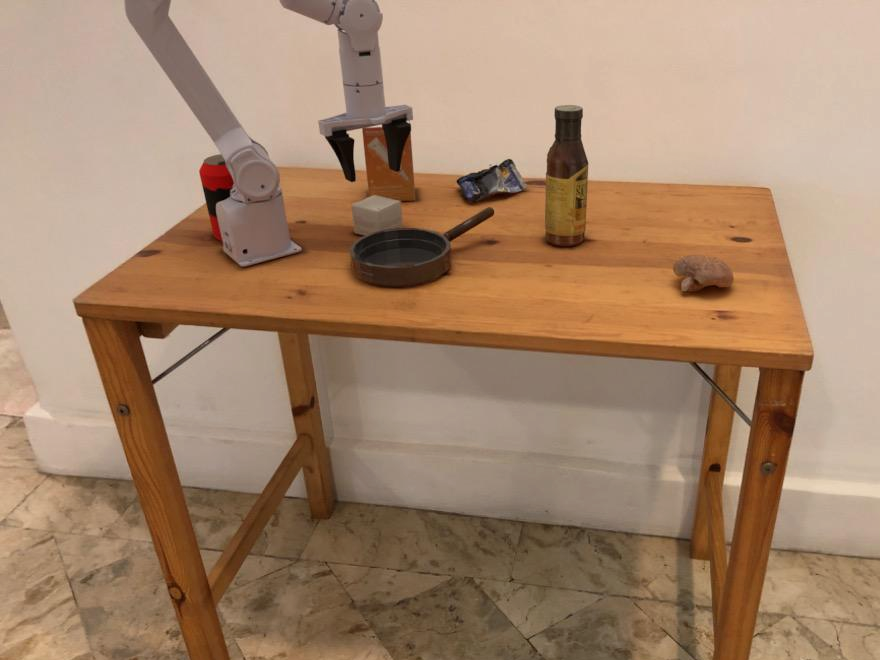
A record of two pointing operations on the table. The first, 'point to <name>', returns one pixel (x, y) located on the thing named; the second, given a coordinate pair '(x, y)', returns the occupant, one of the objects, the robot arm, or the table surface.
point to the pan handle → (469, 224)
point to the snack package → (491, 181)
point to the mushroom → (702, 272)
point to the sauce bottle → (566, 180)
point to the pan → (400, 257)
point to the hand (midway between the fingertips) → (373, 175)
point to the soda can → (215, 187)
